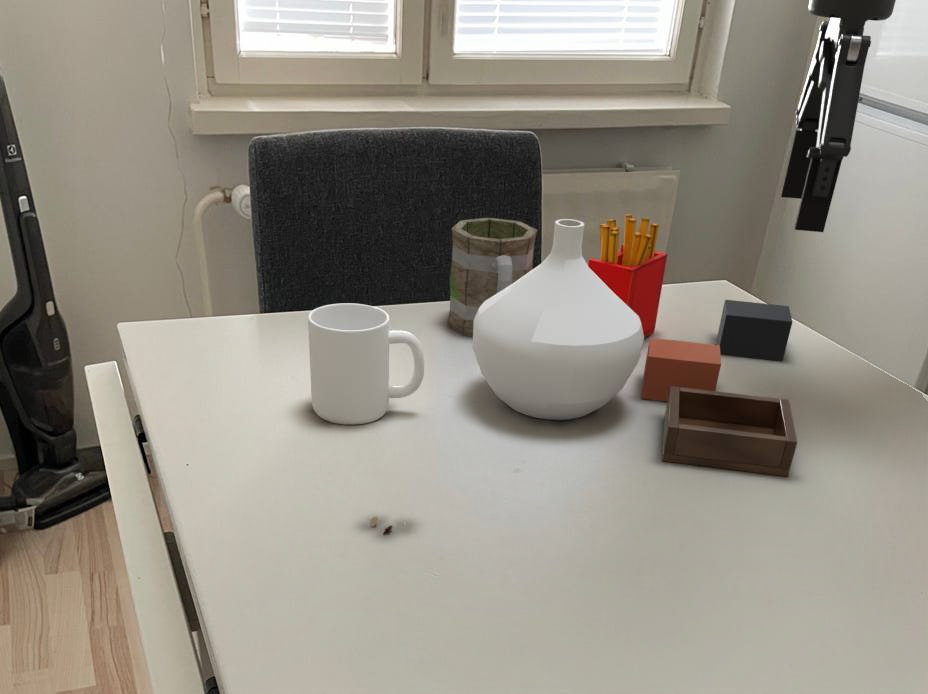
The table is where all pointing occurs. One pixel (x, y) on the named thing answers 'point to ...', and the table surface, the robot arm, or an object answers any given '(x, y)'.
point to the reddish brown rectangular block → (679, 367)
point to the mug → (485, 264)
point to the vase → (557, 336)
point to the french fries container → (632, 268)
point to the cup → (355, 362)
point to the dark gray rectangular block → (754, 330)
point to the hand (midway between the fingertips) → (800, 213)
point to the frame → (729, 431)
